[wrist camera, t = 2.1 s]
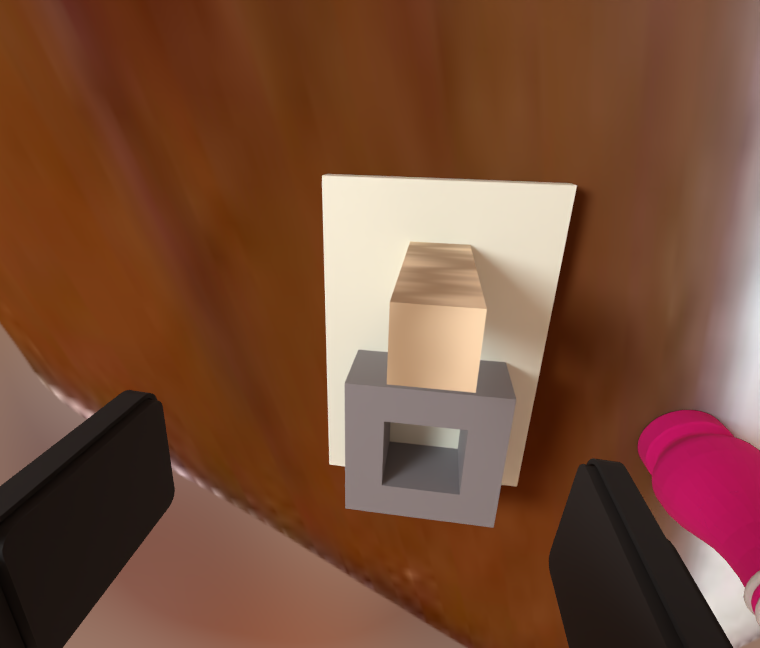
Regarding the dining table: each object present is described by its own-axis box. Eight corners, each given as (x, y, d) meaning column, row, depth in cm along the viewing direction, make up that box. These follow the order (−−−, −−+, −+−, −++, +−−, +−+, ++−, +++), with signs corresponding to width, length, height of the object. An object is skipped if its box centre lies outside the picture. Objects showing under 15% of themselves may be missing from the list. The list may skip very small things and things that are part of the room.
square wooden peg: (470, 244, 28) (486, 309, 17) (464, 301, 30) (475, 392, 19) (410, 241, 29) (389, 302, 18) (407, 297, 30) (386, 384, 19)
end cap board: (570, 183, 27) (605, 194, 22) (514, 473, 37) (527, 537, 31) (327, 174, 29) (298, 182, 23) (333, 453, 39) (313, 509, 33)
